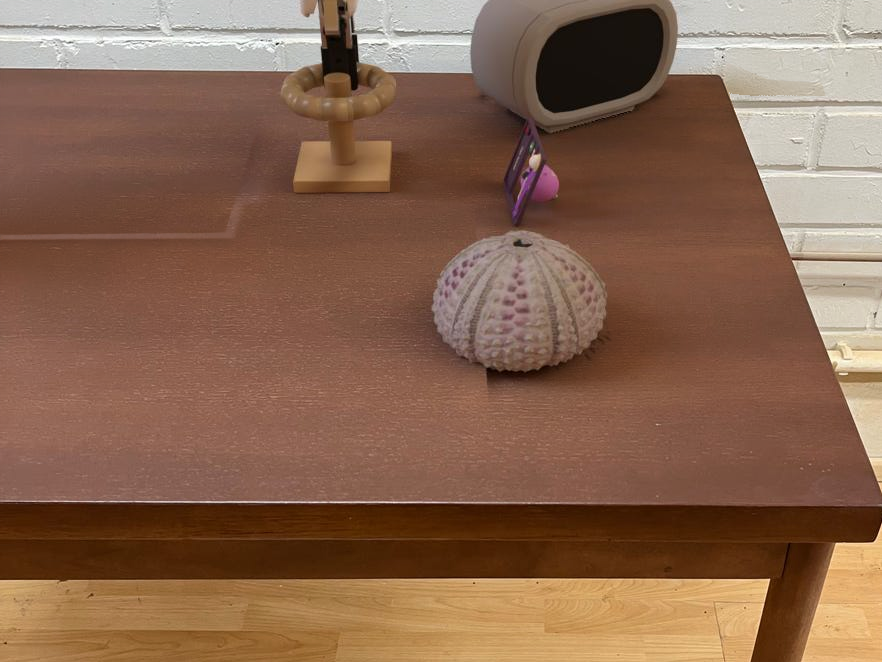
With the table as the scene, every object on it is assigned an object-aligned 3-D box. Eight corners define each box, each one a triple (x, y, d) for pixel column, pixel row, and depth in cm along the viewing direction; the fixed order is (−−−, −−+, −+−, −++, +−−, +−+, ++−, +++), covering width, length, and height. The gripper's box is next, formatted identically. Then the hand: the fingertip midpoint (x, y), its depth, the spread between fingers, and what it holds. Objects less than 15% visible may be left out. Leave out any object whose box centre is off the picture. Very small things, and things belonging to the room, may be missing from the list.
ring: (276, 125, 90) (273, 103, 89) (289, 79, 98) (286, 58, 97) (394, 124, 90) (393, 102, 89) (398, 79, 98) (397, 58, 97)
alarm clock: (520, 146, 103) (525, 8, 95) (470, 115, 109) (470, -18, 100) (671, 105, 112) (689, -25, 103) (617, 78, 118) (629, -47, 109)
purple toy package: (520, 113, 93) (535, 155, 86) (572, 130, 94) (589, 172, 88) (495, 179, 97) (507, 223, 90) (544, 194, 99) (559, 238, 92)
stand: (294, 193, 95) (282, 96, 89) (303, 152, 102) (292, 59, 96) (389, 192, 96) (384, 95, 89) (392, 152, 102) (387, 59, 96)
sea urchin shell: (416, 378, 73) (412, 282, 68) (446, 283, 83) (445, 192, 78) (599, 395, 72) (610, 298, 67) (607, 296, 82) (617, 205, 77)
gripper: (289, -155, 91) (310, 54, 103) (268, -114, 79) (295, 117, 91) (372, -155, 91) (384, 54, 103) (364, -114, 79) (378, 116, 91)
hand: (342, 81), depth 97 cm, fingers closed on ring, 2 cm apart
